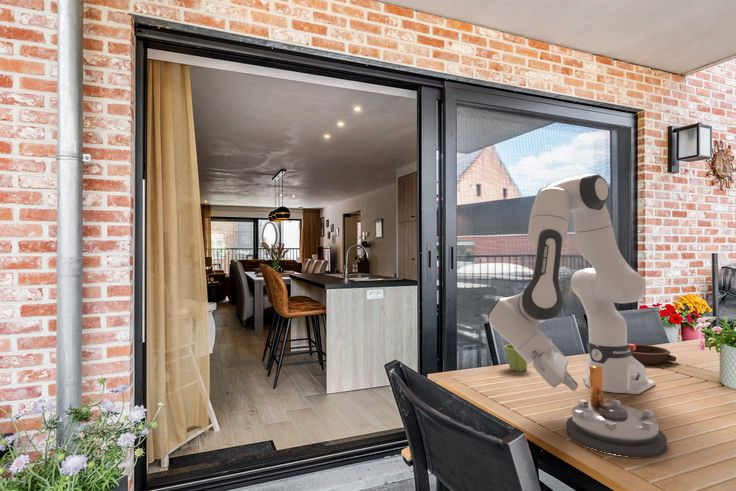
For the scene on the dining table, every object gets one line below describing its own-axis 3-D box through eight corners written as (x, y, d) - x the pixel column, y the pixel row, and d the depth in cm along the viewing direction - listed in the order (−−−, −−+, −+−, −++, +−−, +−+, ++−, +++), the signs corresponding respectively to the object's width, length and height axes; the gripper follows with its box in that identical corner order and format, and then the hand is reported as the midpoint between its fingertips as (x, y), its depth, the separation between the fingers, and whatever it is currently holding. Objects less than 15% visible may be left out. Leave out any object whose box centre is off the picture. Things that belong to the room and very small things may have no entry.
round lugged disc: (602, 409, 114) (601, 361, 114) (675, 434, 98) (673, 378, 98) (556, 422, 106) (554, 371, 107) (627, 452, 90) (625, 391, 90)
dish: (677, 370, 155) (677, 356, 155) (609, 362, 167) (608, 350, 167) (675, 359, 169) (675, 346, 169) (612, 353, 182) (612, 341, 182)
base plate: (601, 414, 116) (601, 407, 116) (686, 444, 97) (686, 436, 97) (548, 430, 107) (547, 423, 107) (630, 467, 88) (630, 458, 88)
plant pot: (501, 366, 166) (500, 344, 166) (524, 365, 166) (523, 343, 166) (511, 373, 156) (510, 350, 156) (535, 372, 157) (534, 348, 157)
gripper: (539, 349, 107) (583, 392, 102) (547, 334, 125) (586, 370, 120) (521, 364, 109) (564, 408, 104) (532, 347, 127) (569, 384, 122)
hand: (576, 388), depth 112 cm, fingers closed
